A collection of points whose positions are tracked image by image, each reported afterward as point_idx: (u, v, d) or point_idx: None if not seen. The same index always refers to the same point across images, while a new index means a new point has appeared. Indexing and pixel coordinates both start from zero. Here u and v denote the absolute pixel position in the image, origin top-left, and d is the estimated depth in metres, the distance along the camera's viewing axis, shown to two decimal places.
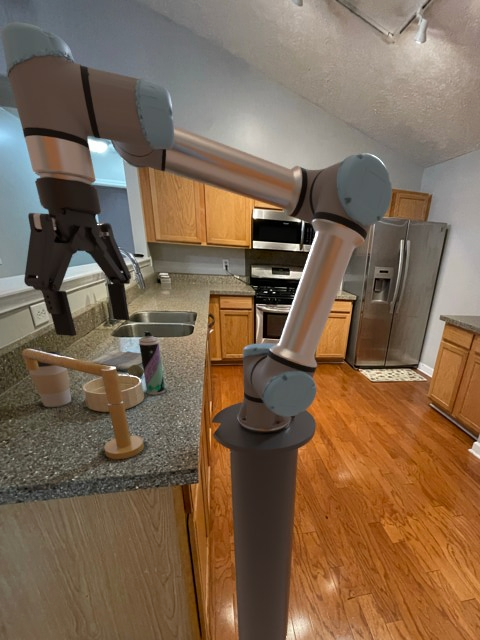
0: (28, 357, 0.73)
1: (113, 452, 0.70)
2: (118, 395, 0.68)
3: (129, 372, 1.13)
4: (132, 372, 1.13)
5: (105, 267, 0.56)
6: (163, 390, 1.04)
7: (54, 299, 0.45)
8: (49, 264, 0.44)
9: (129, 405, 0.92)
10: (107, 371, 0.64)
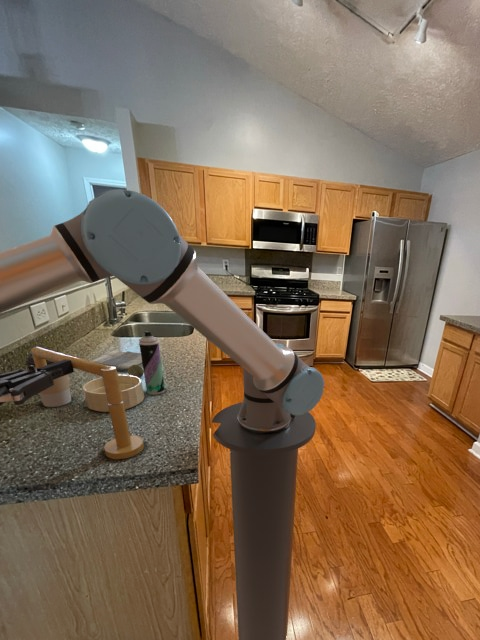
0: (36, 355, 0.74)
1: (113, 452, 0.70)
2: (118, 396, 0.68)
3: (129, 372, 1.13)
4: (132, 372, 1.13)
5: None
6: (163, 390, 1.04)
7: (52, 371, 0.63)
8: (34, 378, 0.58)
9: (129, 405, 0.92)
10: (106, 371, 0.64)
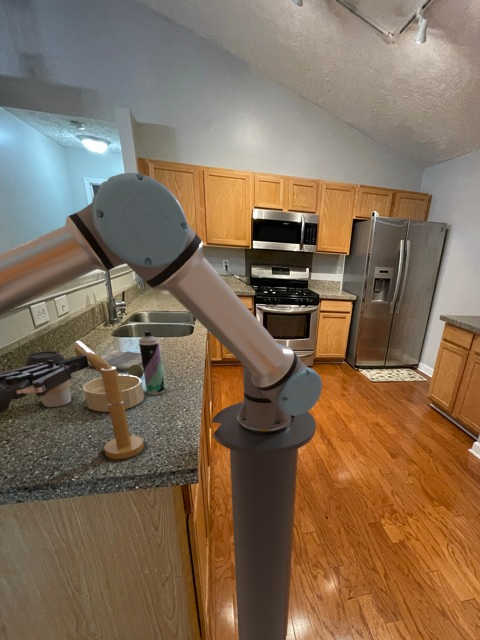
0: (75, 348, 0.81)
1: (113, 452, 0.70)
2: (116, 396, 0.67)
3: (129, 372, 1.13)
4: (132, 372, 1.13)
5: None
6: (163, 390, 1.04)
7: (70, 365, 0.67)
8: (54, 371, 0.62)
9: (129, 405, 0.92)
10: (104, 371, 0.64)
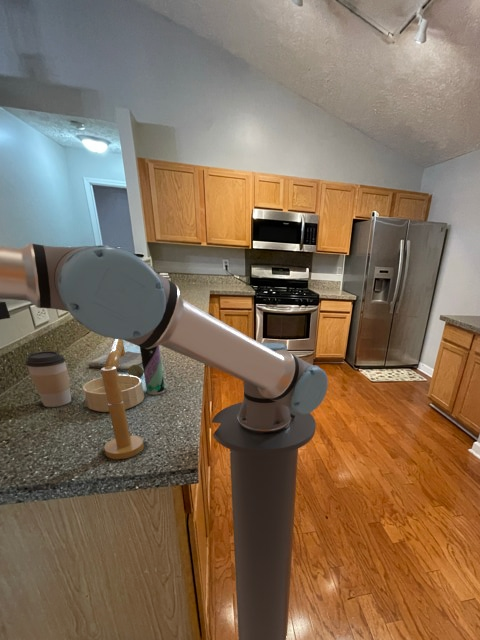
0: None
1: (113, 452, 0.70)
2: (113, 397, 0.67)
3: (129, 372, 1.13)
4: (132, 372, 1.13)
5: None
6: (163, 390, 1.04)
7: None
8: None
9: (129, 405, 0.92)
10: (102, 371, 0.64)
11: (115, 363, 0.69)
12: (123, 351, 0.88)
